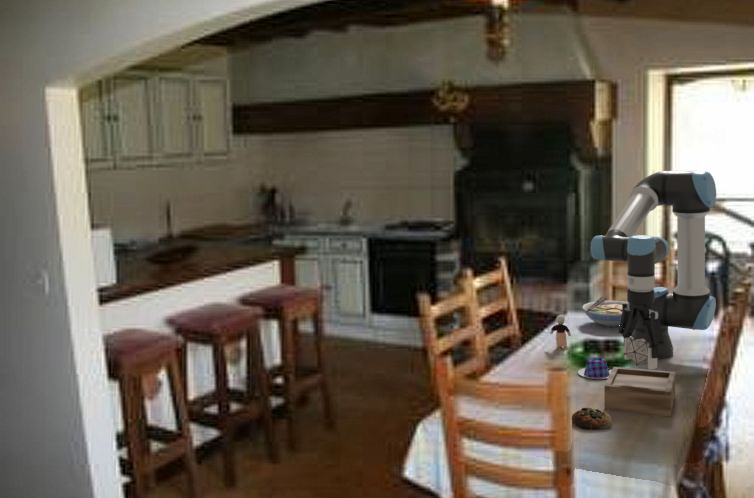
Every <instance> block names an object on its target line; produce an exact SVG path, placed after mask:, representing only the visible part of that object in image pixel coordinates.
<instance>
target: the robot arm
mask: <svg viewBox="0 0 754 498" xmlns="http://www.w3.org/2000/svg"><path fill="white" fill-rule="evenodd" d="M716 187H717V186H716V182H715V179H714V177H713V175H712V174H711V173H710V172H708V171H706V170H704V171H703V170H696V169H695V170H662V171H657V172H654V173H651V174H650V175H648V176H646V177H645V178H643V179H641V180H640V181H639V182H638V183H637V184H636V185H635V186H633V188H632V189H631V191H630V193H629V197H628V198H629V200H628V201H627V203H625V205H624V207H623V209H622V210H621V211H620V212H619V215H617V217H616V219H615V221H614V222H613V223H612V224H611V226H610V227H609V229H608V231H607V232H606V234H605V235H602V234H601V235H595V236H594V237H593V238H592V239H591V242H590V253H591V256H592V258H593V259H595V260H601V261H604V262H606V261H608V262H609V261H611V262H626V263H627V265H626V266H627V267H626V269H627V273H626V274H627V281H626V282H627V290H626V291H627V293H626V294H627V295H626V296H627V297H626V302H629V303H625V304H622V316H621V321H620V326H618V334H619V335H622V338H623V348H624V349H623V350H624V353H626V352H627V349H628V347H629V345H630V342H631V340H630V338H631V339H632V340H636V339H643V337H644V336H645V340H646V341H648V342H649V344H650V346H648V363H647V370H655V369H658V359H666V358H669V357H672V356H673V355H674V346H673V343H672V340H671V337H670V333H669V327H671V328H678V329H679V328H680V329H688V330H693V331H695V330H697V331H698V330H699V331H706V330H708V328H709V327H710V326H711V324H712V323H713V320H714V316H715V313H716V308H717V302H716V297H715V296H712V295H711V291H710V289H709V288H708V287H707V286H706V267H705V266H706V252H705V251H706V216H707V215H708V214H709V213H711V212H710V211H711V207H714V206H715V205H716V202H717V188H716ZM658 206H668V207H669V206H671V208H672V211H671V212H672V213H673V214H674V215H675V217H677V218H676V219H677V220H676V223H677V225H676V226H677V227H676V228H677V231H676V232H677V236H676V237H677V249H676V250H677V285H676V286H675V287H673V289H672V292H670V290H669V288H668V287H664V286H656V284H655V283H656V274H655V273H656V271H655V270H656V267H655V266H656V265H657V264H658V263H661V262H663V261H664V260H665V259H666V258H667V257H668V255H669V253H670V244H669V243H668V241H667V240H666V239H665V238H663V237H661V236H652V235H642V234H641V235H639V234H638V235H637V234H636V233H638V230H639V229H640V227H641V226H642V224H643V223H644V221H645V220H646V218H647V217H648V215H649V213H650V212H651V211H654V210H655V209H656V208H657V207H658ZM624 353H623V355H624ZM623 359H624V360H625V361H626V360H632V359H631V358H630V357H629V356H628V355H627V354H625V355H624V356H623Z"/></svg>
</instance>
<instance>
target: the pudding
mask: <svg viewBox="0 0 754 498" xmlns="http://www.w3.org/2000/svg"><path fill="white" fill-rule="evenodd" d="M608 369H610V368H609V367H608V364H607V361H606V359H604V358H602V357H590V358H588V359H587V361H586V365H585V367H583V368H580V369H579V370H578V371H577V374H578V375H579V376H582V377H583V378H584V377H585V378H587V379H591V378H592V379H594V380H595V379H596V380H603V379H608V377H609V375H610V373H611V371H612V369H610V370H609V371H608Z"/></svg>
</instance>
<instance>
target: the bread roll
mask: <svg viewBox="0 0 754 498" xmlns="http://www.w3.org/2000/svg"><path fill="white" fill-rule="evenodd" d="M571 421H573V422H572V423H573V425H574V427H577V428H579V429H582V430H585V431H587V430H588V431H589V430H590V431H596V430H597V431H599V430H602V429H608V428H610V427H612V425H613V420H612V417H611V415H610V414H609V413H607V412H606V411H601V410H600V409H597V408H596V409H594V408H591V407H582V408H580V409H579V410H577V411H575V412H574V413H572V416H571Z"/></svg>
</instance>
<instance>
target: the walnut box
mask: <svg viewBox="0 0 754 498" xmlns="http://www.w3.org/2000/svg"><path fill="white" fill-rule="evenodd" d="M611 370H612V371H611V373H610V374H609V377H608V376H607V377H608V378H606V379H607V380H606V381H605V384H604V388H603V389H604V410H606V411H617V412H626V413H633V414H634V413H635V414H644V415H646V414H647V415H655V416H662V417H663V416H665V417H671V416H672V411H673V407H674V402H675V399H676V398H675V397H676V371H671V370H670V371H668V370H655V369H645V368H643V369H642V368H633V367H621V366H620V367H619V366H612V369H611Z"/></svg>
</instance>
